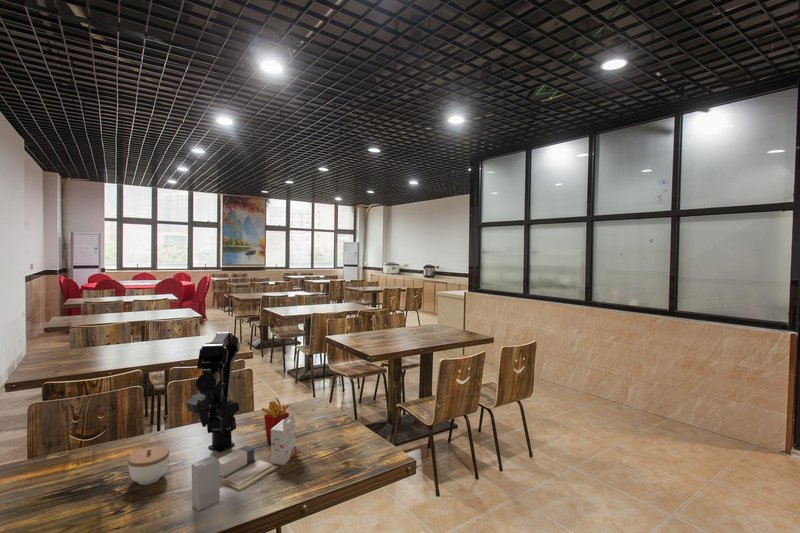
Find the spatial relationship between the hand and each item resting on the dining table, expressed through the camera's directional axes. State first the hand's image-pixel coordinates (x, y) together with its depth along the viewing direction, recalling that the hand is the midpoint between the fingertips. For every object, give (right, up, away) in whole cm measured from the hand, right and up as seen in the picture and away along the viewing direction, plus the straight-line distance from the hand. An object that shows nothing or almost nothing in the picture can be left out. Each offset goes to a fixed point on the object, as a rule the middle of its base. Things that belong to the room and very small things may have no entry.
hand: (213, 429), depth 134 cm
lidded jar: (-16, -12, -8) cm, 22 cm away
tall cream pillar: (+8, -11, -2) cm, 14 cm away
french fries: (+14, -12, +19) cm, 26 cm away
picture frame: (+9, -12, -2) cm, 15 cm away
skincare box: (+7, -13, -20) cm, 25 cm away
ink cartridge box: (+21, -12, +6) cm, 25 cm away
